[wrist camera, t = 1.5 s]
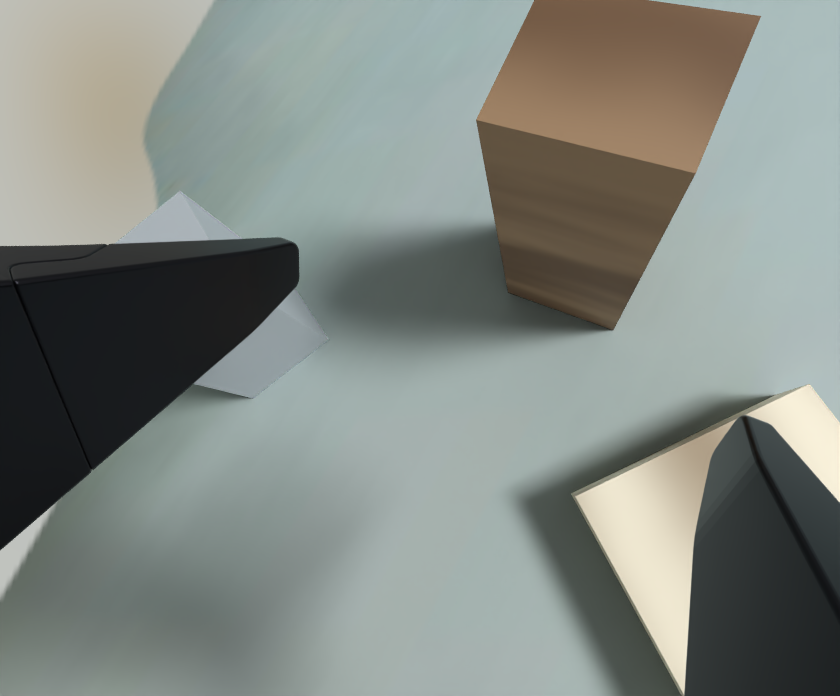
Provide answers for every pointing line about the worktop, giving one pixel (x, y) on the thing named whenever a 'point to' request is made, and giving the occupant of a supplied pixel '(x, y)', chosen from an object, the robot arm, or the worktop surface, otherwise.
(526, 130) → the walnut block
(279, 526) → the worktop surface
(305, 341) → the grey block
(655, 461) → the birch block
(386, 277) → the worktop surface
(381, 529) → the worktop surface
